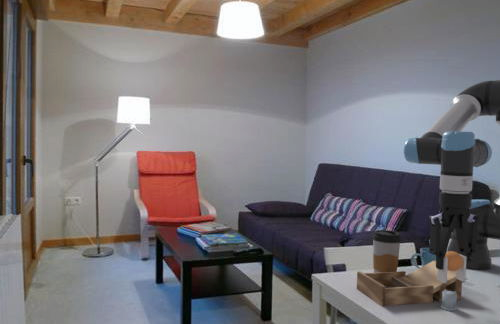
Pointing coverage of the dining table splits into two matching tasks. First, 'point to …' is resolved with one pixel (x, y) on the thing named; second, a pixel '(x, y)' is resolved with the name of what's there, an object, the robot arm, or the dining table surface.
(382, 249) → the coffee cup
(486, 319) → the dining table surface
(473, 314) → the dining table surface
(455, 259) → the ball
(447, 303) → the tee
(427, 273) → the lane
